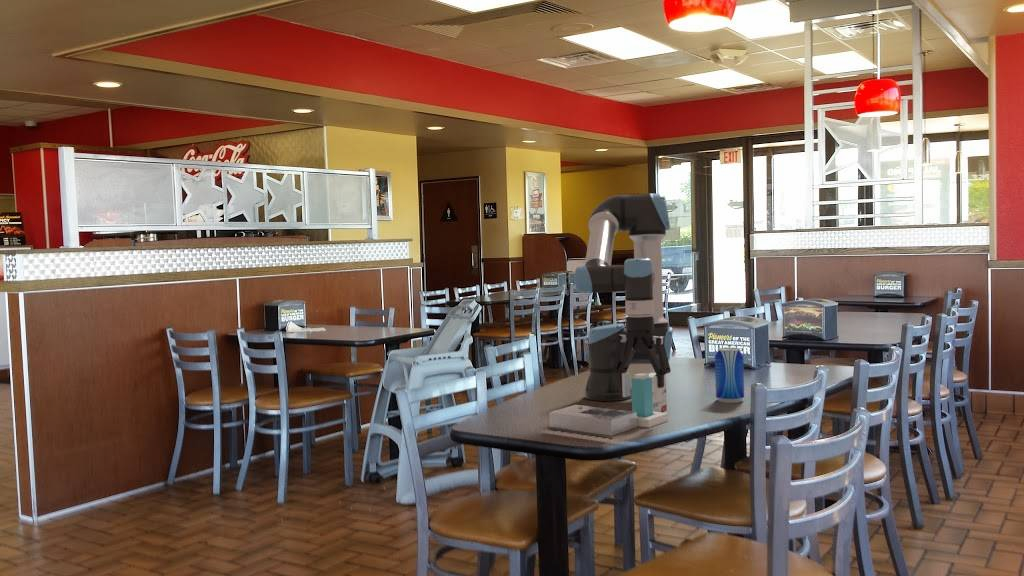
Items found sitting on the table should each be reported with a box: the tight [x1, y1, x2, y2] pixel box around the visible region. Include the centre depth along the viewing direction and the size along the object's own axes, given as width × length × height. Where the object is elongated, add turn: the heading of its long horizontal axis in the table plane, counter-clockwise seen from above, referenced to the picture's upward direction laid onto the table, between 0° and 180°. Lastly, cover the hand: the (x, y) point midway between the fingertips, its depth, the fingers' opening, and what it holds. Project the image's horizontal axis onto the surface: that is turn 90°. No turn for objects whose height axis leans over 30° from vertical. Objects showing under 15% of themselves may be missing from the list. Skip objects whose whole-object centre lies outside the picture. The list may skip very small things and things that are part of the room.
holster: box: [637, 411, 669, 429], centre depth 237 cm, size 10×10×3 cm
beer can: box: [714, 347, 745, 404], centre depth 266 cm, size 8×8×16 cm
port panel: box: [548, 404, 638, 440], centre depth 233 cm, size 20×12×6 cm, turn 49°
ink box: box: [648, 372, 668, 413], centre depth 249 cm, size 9×5×12 cm, turn 141°
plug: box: [630, 372, 653, 417], centre depth 236 cm, size 4×4×13 cm
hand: (642, 397), depth 236 cm, fingers open, 9 cm apart
